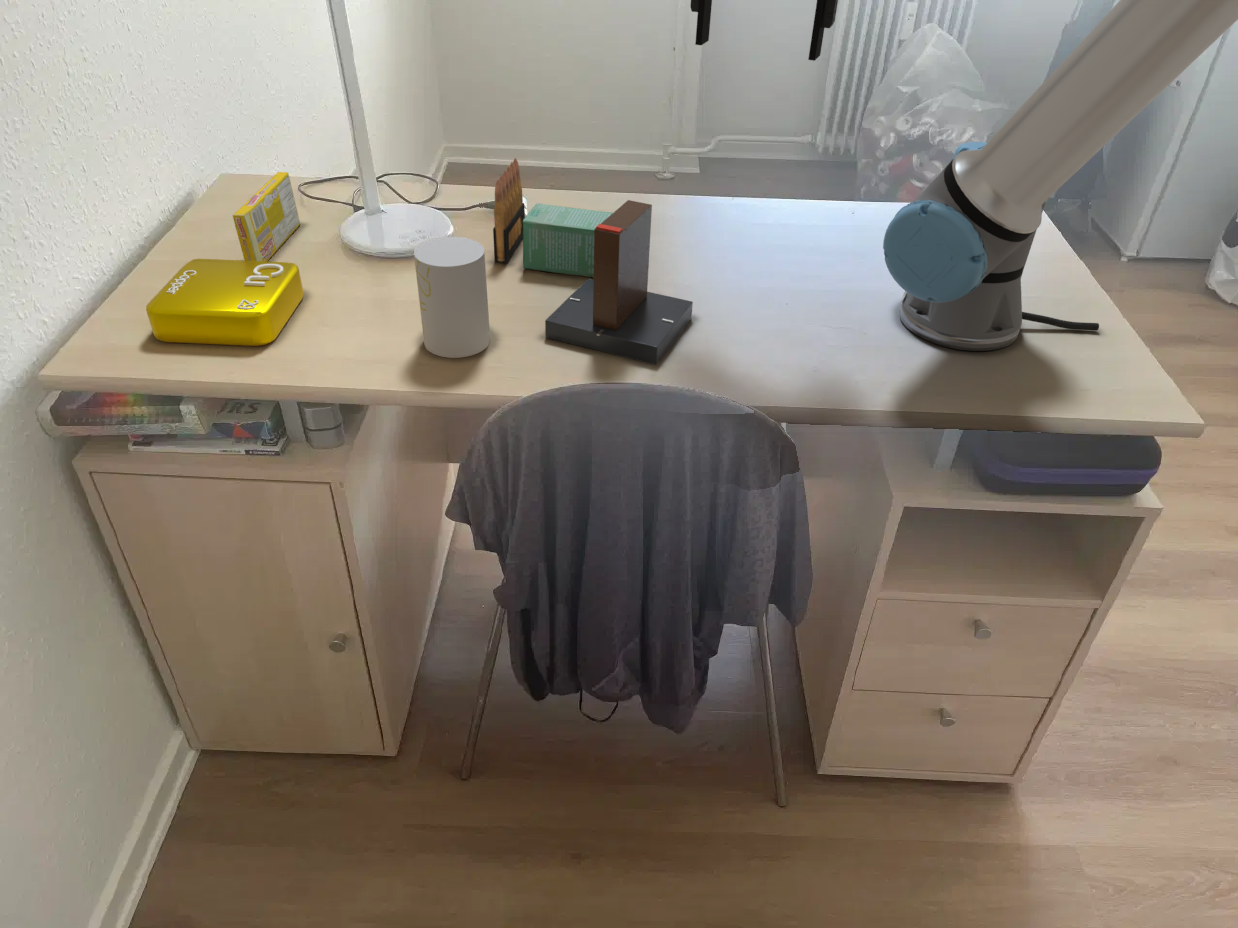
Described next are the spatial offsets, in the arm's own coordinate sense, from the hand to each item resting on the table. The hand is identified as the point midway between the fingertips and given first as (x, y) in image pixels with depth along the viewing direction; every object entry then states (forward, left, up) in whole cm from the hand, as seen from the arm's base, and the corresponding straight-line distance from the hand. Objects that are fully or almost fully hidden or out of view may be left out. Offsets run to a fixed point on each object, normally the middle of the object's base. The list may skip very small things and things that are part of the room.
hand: (757, 50), depth 107 cm
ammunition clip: (+34, 0, -32) cm, 47 cm away
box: (+23, +1, -32) cm, 39 cm away
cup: (+27, +27, -32) cm, 50 cm away
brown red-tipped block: (+10, +15, -29) cm, 34 cm away
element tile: (+56, +34, -32) cm, 73 cm away
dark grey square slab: (+10, +15, -32) cm, 36 cm away
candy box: (+65, +15, -32) cm, 74 cm away
